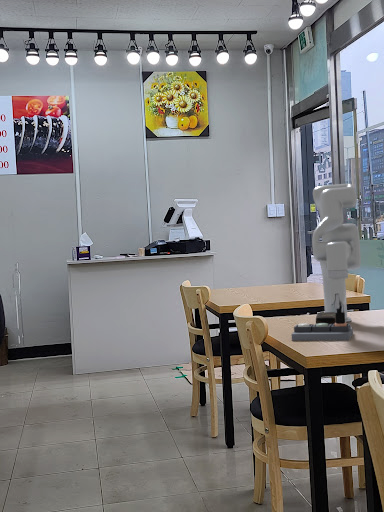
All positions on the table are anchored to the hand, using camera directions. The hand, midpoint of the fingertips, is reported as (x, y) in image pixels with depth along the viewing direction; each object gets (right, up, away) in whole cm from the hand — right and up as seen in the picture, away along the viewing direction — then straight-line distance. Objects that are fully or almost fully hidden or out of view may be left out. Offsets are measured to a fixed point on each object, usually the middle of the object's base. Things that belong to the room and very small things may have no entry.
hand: (340, 323), depth 239 cm
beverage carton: (-1, -5, +21) cm, 22 cm away
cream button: (-13, -3, +5) cm, 14 cm away
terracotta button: (0, -2, 0) cm, 2 cm away
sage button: (-6, -3, +3) cm, 7 cm away
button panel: (-6, -6, +3) cm, 9 cm away
